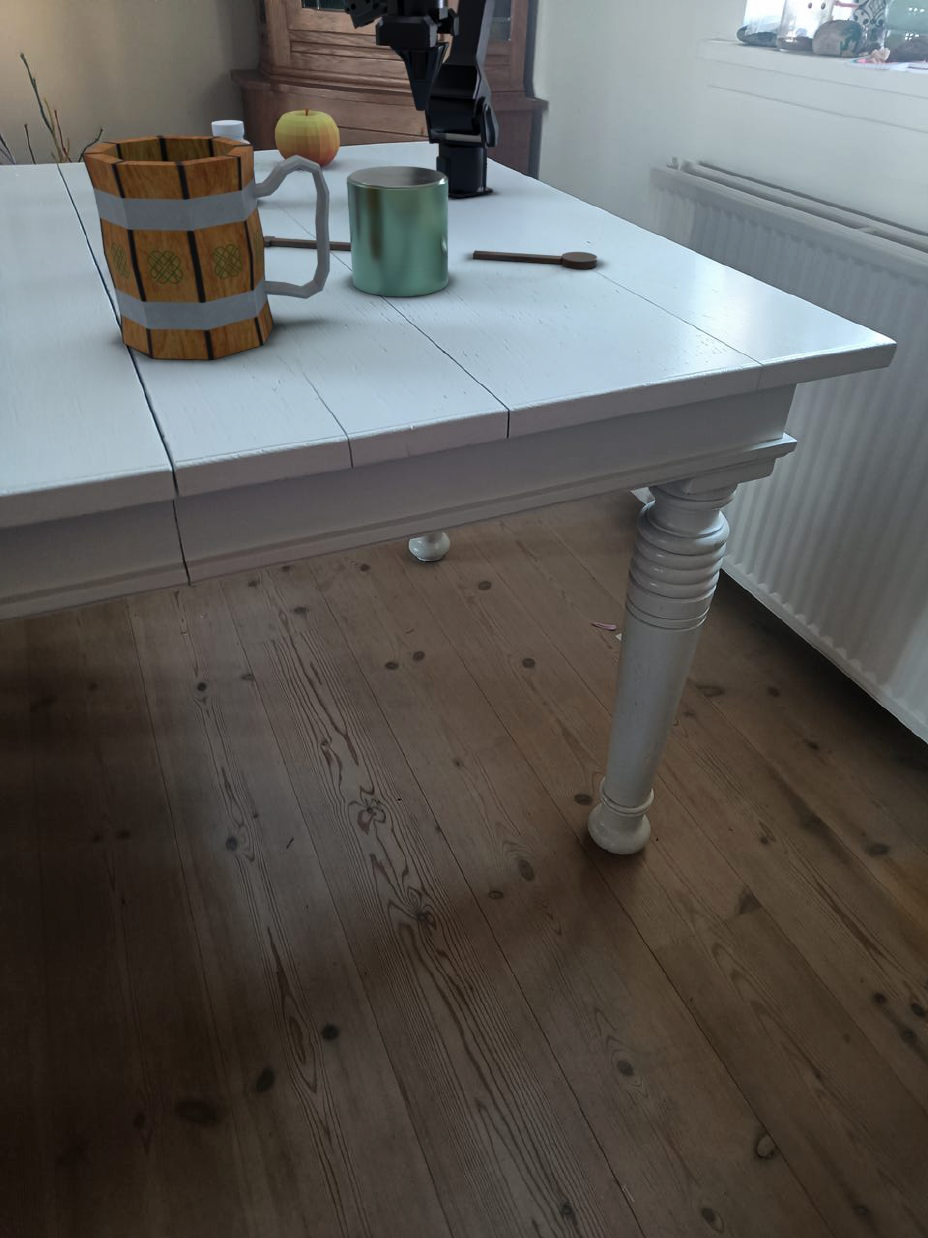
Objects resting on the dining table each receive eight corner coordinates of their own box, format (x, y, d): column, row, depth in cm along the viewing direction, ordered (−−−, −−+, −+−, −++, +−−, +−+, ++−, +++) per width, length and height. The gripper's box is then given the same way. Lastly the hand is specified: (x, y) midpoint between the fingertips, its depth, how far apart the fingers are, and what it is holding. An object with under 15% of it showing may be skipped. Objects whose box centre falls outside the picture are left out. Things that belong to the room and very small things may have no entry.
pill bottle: (263, 199, 122) (253, 119, 116) (251, 209, 118) (241, 126, 112) (224, 198, 123) (213, 118, 117) (211, 207, 118) (199, 124, 113)
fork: (357, 246, 105) (357, 241, 104) (351, 252, 103) (351, 246, 102) (237, 238, 107) (236, 233, 106) (229, 244, 105) (228, 238, 104)
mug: (129, 369, 74) (85, 170, 65) (116, 317, 84) (76, 138, 75) (357, 341, 80) (347, 155, 71) (320, 296, 90) (306, 128, 81)
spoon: (470, 261, 100) (470, 254, 100) (476, 252, 103) (476, 244, 103) (595, 270, 98) (596, 262, 98) (597, 259, 102) (598, 252, 101)
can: (399, 262, 100) (396, 161, 94) (467, 281, 95) (468, 175, 88) (333, 281, 94) (325, 175, 88) (401, 303, 89) (398, 191, 82)
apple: (312, 174, 136) (307, 114, 131) (265, 166, 140) (258, 108, 135) (353, 164, 143) (350, 106, 138) (306, 156, 147) (302, 100, 142)
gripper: (370, -50, 109) (376, 97, 118) (325, -49, 94) (335, 119, 104) (460, -49, 107) (459, 100, 117) (428, -47, 93) (430, 123, 102)
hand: (420, 110), depth 110 cm, fingers closed
